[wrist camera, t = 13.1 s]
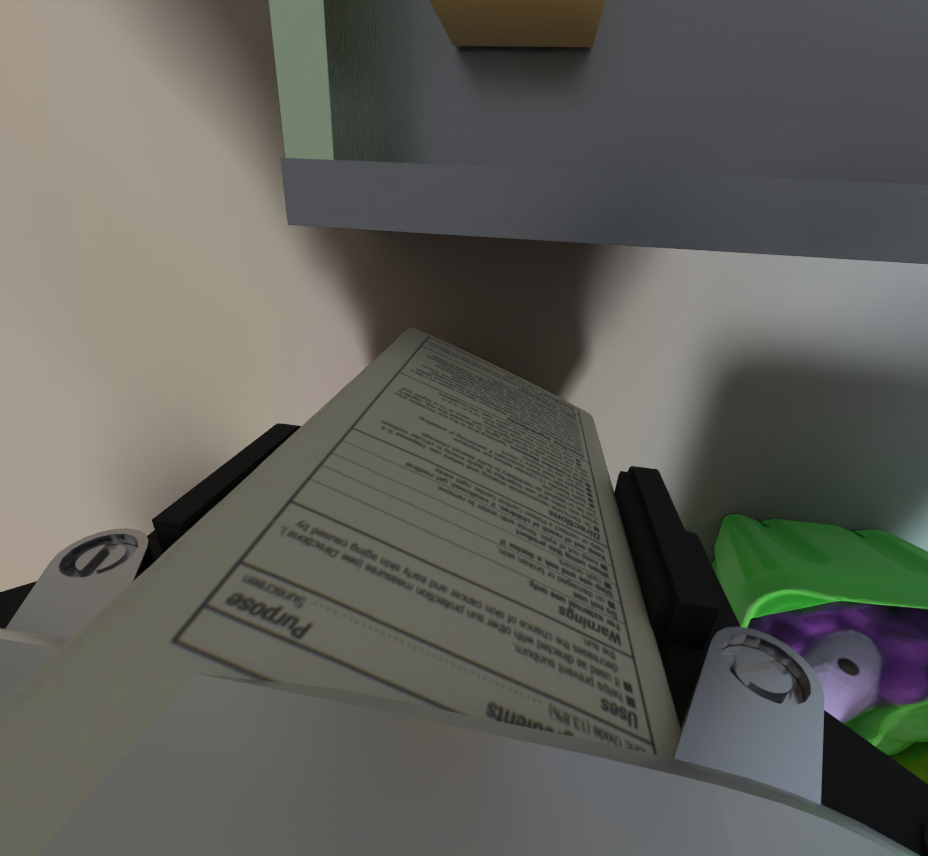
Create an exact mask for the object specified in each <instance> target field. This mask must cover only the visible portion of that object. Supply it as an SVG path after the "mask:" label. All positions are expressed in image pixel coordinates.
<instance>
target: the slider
mask: <svg viewBox="0 0 928 856" xmlns="http://www.w3.org/2000/svg"><path fill="white" fill-rule="evenodd" d="M429 1H430V3H431V5H432V7H433V9H434V11H435V12H436V14H437V16H438V18H439V20H440V22H441V24H442V26H443V28H444V29H445V31H446V33H447V35H448V37H449V39H450V41H451V43H452V45H453V46H513V47H593V44H594V40H595V36H596V33H597V29H598V26H599V22H600V19H601V15H602V12H603V8H604V5H605V1H606V0H429Z"/></svg>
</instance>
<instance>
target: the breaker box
mask: <svg viewBox="0 0 928 856" xmlns="http://www.w3.org/2000/svg"><path fill="white" fill-rule="evenodd" d="M269 9H270V18H271V28H272V37H273V46H274V56H275V65H276V75H277V84H278V94H279V103H280V112H281V122H282V131H283V141H284V150H285V158H281V166H282V175H283V184H284V193H285V202H286V211H287V221H288V225H300V226H316V227H332V228H348V229H365V230H381V231H397V232H414V233H430V234H446V235H463V236H479V237H495V238H511V239H528V240H544V241H560V242H577V243H593V244H609V245H626V246H642V247H658V248H674V249H691V250H707V251H723V252H740V253H756V254H772V255H789V256H805V257H821V258H837V259H854V260H870V261H886V262H903V263H919V264H928V0H606V1H605V5H604V8H603V12H602V15H601V19H600V22H599V26H598V29H597V33H596V36H595V40H594V44H593V47H513V46H453V45H452V43H451V41H450V39H449V37H448V35H447V33H446V31H445V29H444V28H443V26H442V24H441V22H440V20H439V18H438V16H437V14H436V12H435V11H434V9H433V7H432V5H431V3H430V1H429V0H269Z"/></svg>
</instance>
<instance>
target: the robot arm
mask: <svg viewBox="0 0 928 856" xmlns="http://www.w3.org/2000/svg"><path fill="white" fill-rule="evenodd" d="M300 427H302V426H296V425H288V424H279V423H278V424H276V425H274V426H273V427H272V428H271V429H269V430H268V431H267V432H265V433H264V434H263V435H261V436H260V437H259V438H258V439H256V440H255V441H254V442H252V443H251V444H250V445H248V446H247V447H246V448H245V449H243V450H242V451H241V452H239V453H238V454H237V455H235V456H234V457H233V458H232V459H230V460H229V461H228V462H226V463H225V464H224V465H222V466H221V467H220V468H219V469H217V470H216V471H215V472H213V473H212V474H211V475H209V476H208V477H207V478H206V479H204V480H203V481H202V482H200V483H199V484H198V485H196V486H195V487H194V488H193V489H191V490H190V491H189V492H187V493H186V494H185V495H183V496H182V497H181V498H180V499H178V500H177V501H176V502H174V503H173V504H172V505H170V506H169V507H168V508H167V509H165V510H164V511H163V512H161V513H160V514H159V515H157V516H156V517H155V518H154V519H152V522H153V525H154V528H155V530H154V531H153V532H152V533H150V534H149V535H148V536H146V535H145V534H144V533H142V532H141V531H139V530H134V529H113V530H108V531H104V532H99V533H96V534H93V535H91V536H88V537H85V538H83V539H81V540H79V541H77V542H75V543H73V544H71V545H69V546H68V547H66V548H65V549H64V550H62V551H61V552H59V553H58V554H57V555H56V556H55V557H54V559H53V560H52V561H51V562H50V563H49V565H48V566H47V568H46V569H45V571H44V572H43V574H42V575H41V577H40V578H39V580H38V581H36V582H33V583H29V584H26V585H23V586H20V587H16V588H13V589H10V590H6V591H3V592H0V703H1V702H2V701H3V700H4V699H5V698H7V697H8V696H9V695H10V694H11V693H12V692H13V691H14V690H15V689H16V688H17V687H19V686H20V685H21V684H22V683H23V682H24V681H25V680H26V679H27V678H28V677H30V676H31V675H32V674H33V673H34V672H35V671H36V670H37V669H38V668H39V667H40V666H41V665H43V664H44V663H45V662H46V661H47V660H48V659H49V658H50V657H51V656H52V655H53V654H54V653H56V652H57V651H58V650H59V649H60V648H61V647H62V646H63V645H64V644H65V643H66V642H67V641H69V640H70V639H71V638H72V637H73V636H74V635H75V634H76V633H77V632H78V631H79V630H80V629H82V628H83V627H84V626H85V625H86V624H87V623H88V622H89V621H90V620H91V619H92V618H93V617H95V616H96V615H97V614H98V613H99V612H100V611H101V610H102V609H103V608H104V607H105V606H106V605H107V604H109V603H110V602H111V601H112V600H113V599H114V598H115V597H116V596H117V595H118V594H119V593H120V592H122V591H123V590H124V589H125V588H126V587H127V586H128V585H129V584H131V583H132V582H133V581H134V580H135V579H136V578H137V577H138V576H140V575H141V574H142V573H143V572H144V571H145V570H146V569H147V568H149V567H150V566H151V565H152V564H153V563H154V562H155V561H156V560H157V559H158V558H159V557H160V556H161V555H162V554H163V553H164V552H165V551H166V550H167V549H169V548H170V547H171V546H172V545H173V544H174V543H175V542H176V541H177V540H178V539H180V538H181V537H182V536H183V535H184V534H185V533H186V532H187V531H188V530H189V529H191V528H192V527H193V526H194V525H195V524H196V523H197V522H198V521H199V520H200V519H201V518H203V517H204V516H205V515H206V514H207V513H208V512H209V511H210V510H211V509H212V508H214V507H215V506H216V505H217V504H218V503H219V502H221V501H222V500H223V499H224V498H225V497H226V496H227V495H228V494H229V493H230V492H231V491H232V490H234V489H235V488H236V487H237V486H238V485H239V484H240V483H241V482H242V481H243V480H244V479H246V478H247V477H248V476H249V475H250V474H251V473H252V472H253V471H254V470H255V469H256V468H257V467H258V466H259V465H260V464H261V463H262V462H263V461H264V460H265V459H267V458H268V457H269V456H270V455H271V454H272V453H273V452H274V451H275V450H276V449H277V448H278V447H280V446H281V445H282V444H283V443H284V442H285V441H286V440H287V439H288V438H289V437H290V436H292V435H293V434H294V433H295V432H296V431H297V430H298V429H299V428H300ZM614 494H615V498H616V501H617V505H618V509H619V512H620V516H621V519H622V523H623V526H624V530H625V533H626V536H627V540H628V543H629V547H630V550H631V554H632V557H633V561H634V564H635V568H636V572H637V575H638V579H639V583H640V587H641V590H642V594H643V598H644V602H645V605H646V609H647V613H648V616H649V620H650V624H651V628H652V629H653V632H654V635H655V639H656V642H657V646H658V649H659V653H660V656H661V660H662V663H663V667H664V671H665V674H666V678H667V681H668V685H669V689H670V692H671V696H672V699H673V703H674V706H675V710H676V713H677V717H678V721H679V724H680V728H681V729H680V734H679V738H678V741H677V744H676V748H675V751H674V754H673V758H668V757H664V756H659V755H654V754H650V753H645V752H641V751H636V750H632V749H627V748H623V747H618V746H614V745H609V744H605V743H600V742H596V741H591V740H587V739H582V738H577V737H572V736H568V735H563V734H558V733H553V732H548V731H543V730H538V729H533V728H528V727H523V726H518V725H514V724H509V723H504V722H499V721H494V720H489V719H484V718H479V717H474V716H469V715H465V714H460V713H455V712H450V711H445V710H440V709H435V708H430V707H425V706H420V705H415V704H410V703H405V702H400V701H395V700H390V699H385V698H380V697H375V696H370V695H365V694H360V693H355V692H350V691H345V690H340V689H333V688H324V687H316V686H307V685H298V684H290V683H281V682H272V681H263V680H254V679H244V678H235V677H226V676H216V675H206V674H195V675H194V676H193V677H192V678H191V679H190V680H189V682H188V683H187V684H186V685H185V686H184V687H183V689H182V690H181V691H180V692H179V693H178V694H177V696H176V697H175V698H174V699H173V700H172V701H171V703H170V704H169V705H168V706H167V707H166V708H165V709H164V711H163V712H162V713H161V714H160V715H159V716H158V717H157V719H156V720H155V721H154V722H153V723H152V724H151V726H150V727H149V728H148V729H147V730H146V731H145V732H144V734H143V735H142V736H141V737H140V738H139V739H138V740H137V742H136V743H135V744H134V745H133V746H132V747H131V748H130V750H129V751H128V752H127V753H126V754H125V755H124V756H123V758H122V759H121V760H120V761H119V762H118V763H117V765H116V766H115V767H114V768H113V769H112V770H111V771H110V773H109V774H108V775H107V776H106V777H105V778H104V779H103V781H102V782H101V783H100V784H99V785H98V786H97V787H96V789H95V790H94V791H93V792H92V793H91V794H90V795H89V797H88V798H87V799H86V800H85V801H84V802H83V804H82V805H81V806H80V807H79V808H78V809H77V810H76V812H75V813H74V814H73V815H72V816H71V817H70V818H69V820H68V821H67V822H66V823H65V824H64V825H63V826H62V828H61V829H60V830H59V831H58V832H57V833H56V834H55V836H54V837H53V838H52V839H51V840H50V841H49V843H48V844H47V845H46V846H45V847H44V848H43V849H42V851H41V852H40V853H39V854H38V855H37V856H928V784H927V783H926V782H924V781H923V780H921V779H920V778H919V777H917V776H916V775H914V774H913V773H912V772H910V771H909V770H907V769H906V768H905V767H903V766H902V765H900V764H899V763H898V762H896V761H895V760H893V759H892V758H891V757H889V756H888V755H886V754H885V753H884V752H882V751H881V750H880V749H878V748H877V747H875V746H874V745H873V744H871V743H870V742H868V741H867V740H866V739H864V738H863V737H861V736H860V735H859V734H857V733H856V732H854V731H853V730H852V729H850V728H849V727H847V726H846V725H845V724H843V723H842V722H840V721H839V720H838V719H836V718H835V717H834V716H832V715H831V714H829V713H828V712H827V711H825V710H824V699H825V697H824V692H823V687H822V684H821V682H820V680H819V678H818V676H817V675H816V673H815V671H814V670H813V669H812V667H811V666H810V665H809V664H808V663H807V662H806V661H805V660H804V659H803V657H802V656H800V655H799V654H798V653H797V652H795V651H794V650H793V649H792V648H790V647H789V646H788V645H787V644H785V643H783V642H781V641H780V640H778V639H776V638H774V637H773V636H771V635H769V634H766V633H763V632H761V631H758V630H755V629H751V628H745V627H741V626H740V624H739V622H738V620H737V618H736V615H735V613H734V611H733V609H732V607H731V605H730V603H729V601H728V599H727V597H726V594H725V592H724V590H723V588H722V586H721V584H720V582H719V580H718V578H717V576H716V573H715V571H714V569H713V567H712V565H711V563H710V561H709V559H708V557H707V555H706V552H705V550H704V548H703V546H702V544H701V542H700V540H699V538H698V537H697V535H696V534H695V533H693V532H688V531H685V529H684V527H683V524H682V522H681V520H680V518H679V515H678V513H677V511H676V509H675V506H674V504H673V502H672V500H671V497H670V495H669V493H668V491H667V488H666V486H665V484H664V482H663V479H662V477H661V475H660V473H659V471H658V470H657V469H650V468H642V467H634V466H631V467H630V468H629V470H628V472H623V471H621V472H620V473H619V476H618V480H617V484H616V488H615V493H614Z"/></svg>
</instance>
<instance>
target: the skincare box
mask: <svg viewBox="0 0 928 856" xmlns="http://www.w3.org/2000/svg"><path fill="white" fill-rule="evenodd" d="M195 674H206V675H216V676H226V677H235V678H244V679H254V680H263V681H272V682H281V683H290V684H298V685H307V686H316V687H324V688H333V689H340V690H345V691H350V692H355V693H360V694H365V695H370V696H375V697H380V698H385V699H390V700H395V701H400V702H405V703H410V704H415V705H420V706H425V707H430V708H435V709H440V710H445V711H450V712H455V713H460V714H465V715H469V716H474V717H479V718H484V719H489V720H494V721H499V722H504V723H509V724H514V725H518V726H523V727H528V728H533V729H538V730H543V731H548V732H553V733H558V734H563V735H568V736H572V737H577V738H582V739H587V740H591V741H596V742H600V743H605V744H609V745H614V746H618V747H623V748H627V749H632V750H636V751H641V752H645V753H650V754H654V755H659V756H664V757H668V758H673V754H674V751H675V748H676V744H677V741H678V738H679V734H680V729H681V728H680V724H679V721H678V717H677V713H676V710H675V706H674V703H673V699H672V696H671V692H670V689H669V685H668V681H667V678H666V674H665V671H664V667H663V663H662V660H661V656H660V653H659V649H658V646H657V642H656V639H655V635H654V632H653V629H652V628H651V624H650V620H649V616H648V613H647V609H646V605H645V602H644V598H643V594H642V590H641V587H640V583H639V579H638V575H637V572H636V568H635V564H634V561H633V557H632V554H631V550H630V547H629V543H628V540H627V536H626V533H625V530H624V526H623V523H622V519H621V516H620V512H619V509H618V505H617V501H616V498H615V494H614V491H613V487H612V484H611V480H610V476H609V473H608V470H607V466H606V463H605V459H604V456H603V452H602V449H601V445H600V441H599V438H598V435H597V431H596V427H595V424H594V420H593V418H592V416H591V415H590V414H589V413H587V412H586V411H584V410H582V409H580V408H578V407H576V406H574V405H572V404H570V403H569V402H567V401H565V400H563V399H561V398H559V397H557V396H555V395H554V394H552V393H550V392H548V391H546V390H544V389H542V388H540V387H538V386H536V385H534V384H532V383H530V382H528V381H526V380H524V379H522V378H520V377H518V376H516V375H514V374H512V373H510V372H508V371H506V370H504V369H502V368H500V367H498V366H496V365H494V364H492V363H490V362H488V361H486V360H483V359H481V358H479V357H477V356H475V355H473V354H471V353H469V352H466V351H464V350H462V349H460V348H458V347H456V346H454V345H451V344H449V343H447V342H445V341H443V340H440V339H438V338H436V337H434V336H431V335H429V334H427V333H425V332H423V331H421V330H419V329H416V328H409V329H408V330H406V331H405V332H404V333H403V334H402V335H401V336H400V337H399V338H398V339H396V340H395V341H394V342H393V343H392V344H391V345H390V346H389V347H388V348H387V349H386V350H385V351H384V352H382V353H381V354H380V355H379V356H378V357H377V358H376V359H375V360H374V361H373V362H371V363H370V364H369V365H368V366H367V367H366V368H365V369H364V370H363V371H362V372H361V373H360V374H359V375H357V376H356V377H355V378H354V379H353V380H352V381H351V382H350V383H348V384H347V385H346V386H345V387H344V388H343V389H342V390H341V391H340V392H339V393H338V394H337V395H335V396H334V397H333V398H332V399H331V400H330V401H329V402H328V403H327V404H326V405H325V406H323V407H322V408H321V409H320V410H319V411H318V412H317V413H316V414H315V415H314V416H312V417H311V418H310V419H309V420H308V421H307V422H306V423H305V424H304V425H303V426H302V427H300V428H299V429H298V430H297V431H296V432H295V433H294V434H293V435H292V436H290V437H289V438H288V439H287V440H286V441H285V442H284V443H283V444H282V445H281V446H280V447H278V448H277V449H276V450H275V451H274V452H273V453H272V454H271V455H270V456H269V457H268V458H267V459H265V460H264V461H263V462H262V463H261V464H260V465H259V466H258V467H257V468H256V469H255V470H254V471H253V472H252V473H251V474H250V475H249V476H248V477H247V478H246V479H244V480H243V481H242V482H241V483H240V484H239V485H238V486H237V487H236V488H235V489H234V490H232V491H231V492H230V493H229V494H228V495H227V496H226V497H225V498H224V499H223V500H222V501H221V502H219V503H218V504H217V505H216V506H215V507H214V508H212V509H211V510H210V511H209V512H208V513H207V514H206V515H205V516H204V517H203V518H201V519H200V520H199V521H198V522H197V523H196V524H195V525H194V526H193V527H192V528H191V529H189V530H188V531H187V532H186V533H185V534H184V535H183V536H182V537H181V538H180V539H178V540H177V541H176V542H175V543H174V544H173V545H172V546H171V547H170V548H169V549H167V550H166V551H165V552H164V553H163V554H162V555H161V556H160V557H159V558H158V559H157V560H156V561H155V562H154V563H153V564H152V565H151V566H150V567H149V568H147V569H146V570H145V571H144V572H143V573H142V574H141V575H140V576H138V577H137V578H136V579H135V580H134V581H133V582H132V583H131V584H129V585H128V586H127V587H126V588H125V589H124V590H123V591H122V592H120V593H119V594H118V595H117V596H116V597H115V598H114V599H113V600H112V601H111V602H110V603H109V604H107V605H106V606H105V607H104V608H103V609H102V610H101V611H100V612H99V613H98V614H97V615H96V616H95V617H93V618H92V619H91V620H90V621H89V622H88V623H87V624H86V625H85V626H84V627H83V628H82V629H80V630H79V631H78V632H77V633H76V634H75V635H74V636H73V637H72V638H71V639H70V640H69V641H67V642H66V643H65V644H64V645H63V646H62V647H61V648H60V649H59V650H58V651H57V652H56V653H54V654H53V655H52V656H51V657H50V658H49V659H48V660H47V661H46V662H45V663H44V664H43V665H41V666H40V667H39V668H38V669H37V670H36V671H35V672H34V673H33V674H32V675H31V676H30V677H28V678H27V679H26V680H25V681H24V682H23V683H22V684H21V685H20V686H19V687H17V688H16V689H15V690H14V691H13V692H12V693H11V694H10V695H9V696H8V697H7V698H5V699H4V700H3V701H2V702H1V703H0V856H37V855H38V854H39V853H40V852H41V851H42V849H43V848H44V847H45V846H46V845H47V844H48V843H49V841H50V840H51V839H52V838H53V837H54V836H55V834H56V833H57V832H58V831H59V830H60V829H61V828H62V826H63V825H64V824H65V823H66V822H67V821H68V820H69V818H70V817H71V816H72V815H73V814H74V813H75V812H76V810H77V809H78V808H79V807H80V806H81V805H82V804H83V802H84V801H85V800H86V799H87V798H88V797H89V795H90V794H91V793H92V792H93V791H94V790H95V789H96V787H97V786H98V785H99V784H100V783H101V782H102V781H103V779H104V778H105V777H106V776H107V775H108V774H109V773H110V771H111V770H112V769H113V768H114V767H115V766H116V765H117V763H118V762H119V761H120V760H121V759H122V758H123V756H124V755H125V754H126V753H127V752H128V751H129V750H130V748H131V747H132V746H133V745H134V744H135V743H136V742H137V740H138V739H139V738H140V737H141V736H142V735H143V734H144V732H145V731H146V730H147V729H148V728H149V727H150V726H151V724H152V723H153V722H154V721H155V720H156V719H157V717H158V716H159V715H160V714H161V713H162V712H163V711H164V709H165V708H166V707H167V706H168V705H169V704H170V703H171V701H172V700H173V699H174V698H175V697H176V696H177V694H178V693H179V692H180V691H181V690H182V689H183V687H184V686H185V685H186V684H187V683H188V682H189V680H190V679H191V678H192V677H193V676H194V675H195Z"/></svg>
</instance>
